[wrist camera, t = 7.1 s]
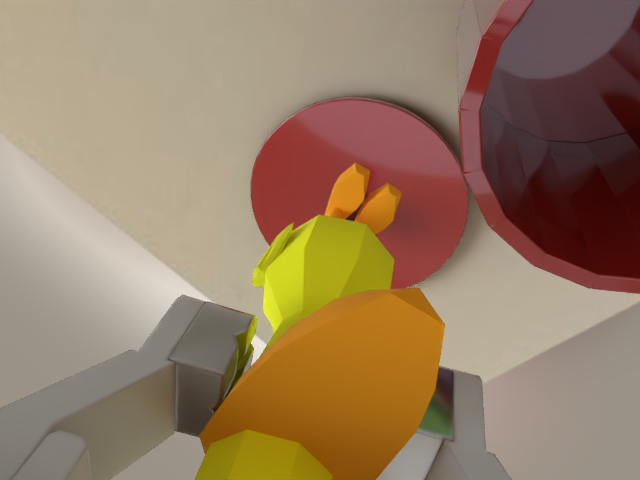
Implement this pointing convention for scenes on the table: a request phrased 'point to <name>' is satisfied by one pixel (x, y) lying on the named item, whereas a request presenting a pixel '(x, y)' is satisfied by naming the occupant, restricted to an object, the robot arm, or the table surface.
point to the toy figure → (330, 353)
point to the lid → (385, 167)
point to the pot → (555, 132)
